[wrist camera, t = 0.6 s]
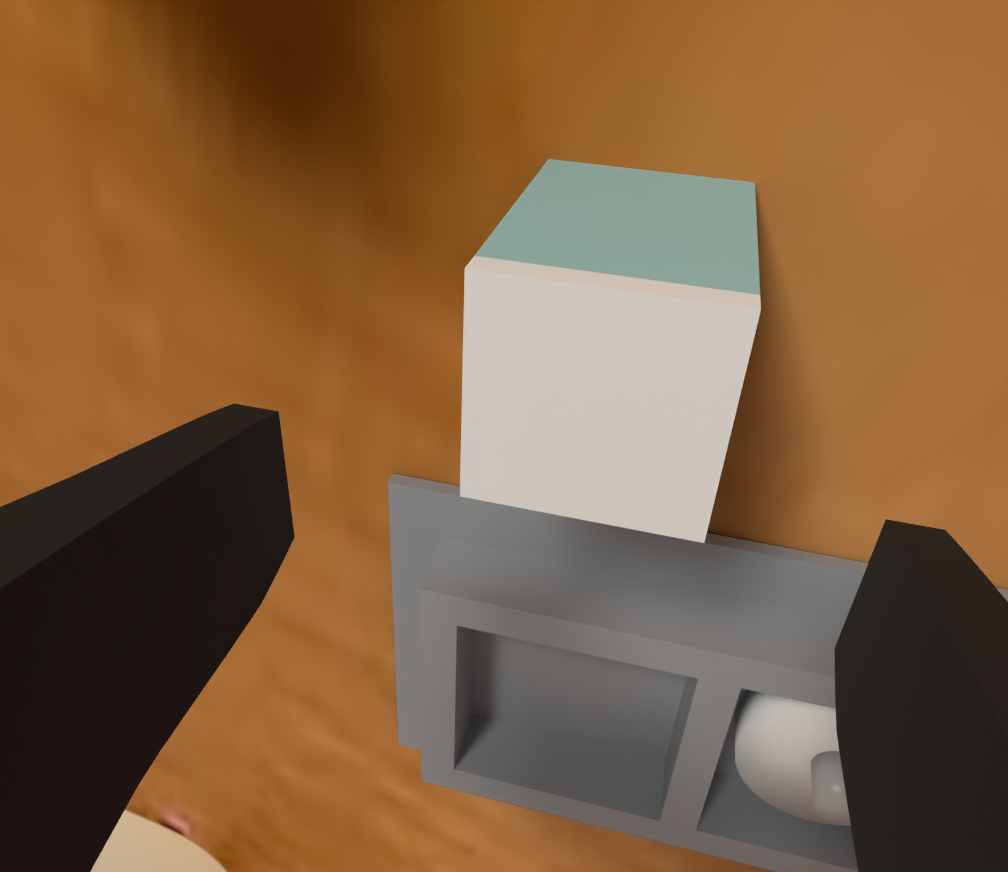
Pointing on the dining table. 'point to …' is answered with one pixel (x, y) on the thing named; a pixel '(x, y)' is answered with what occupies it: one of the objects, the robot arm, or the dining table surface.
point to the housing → (624, 675)
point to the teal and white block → (610, 346)
